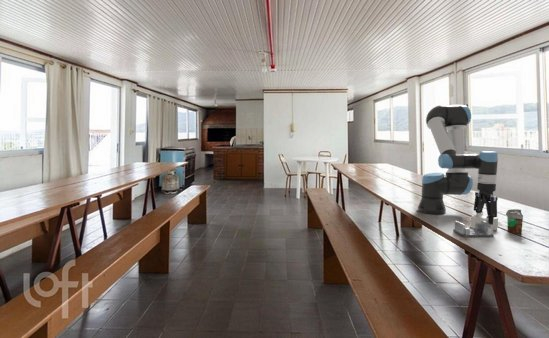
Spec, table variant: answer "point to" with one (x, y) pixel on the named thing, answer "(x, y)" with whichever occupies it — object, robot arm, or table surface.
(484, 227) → the mount
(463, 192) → the robot arm
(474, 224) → the cream rectangular block
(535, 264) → the table surface
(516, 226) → the food container
